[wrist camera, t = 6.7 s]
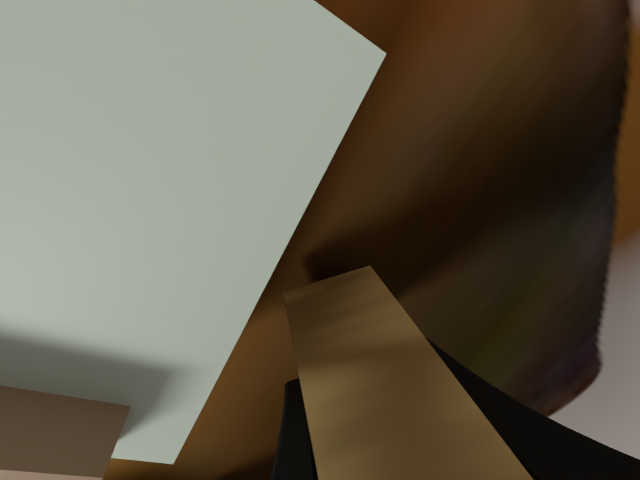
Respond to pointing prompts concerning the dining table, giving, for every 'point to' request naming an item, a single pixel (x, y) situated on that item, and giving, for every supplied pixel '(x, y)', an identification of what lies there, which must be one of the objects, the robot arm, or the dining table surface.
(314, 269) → the dining table surface
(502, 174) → the dining table surface
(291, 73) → the lid
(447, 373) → the wooden block
